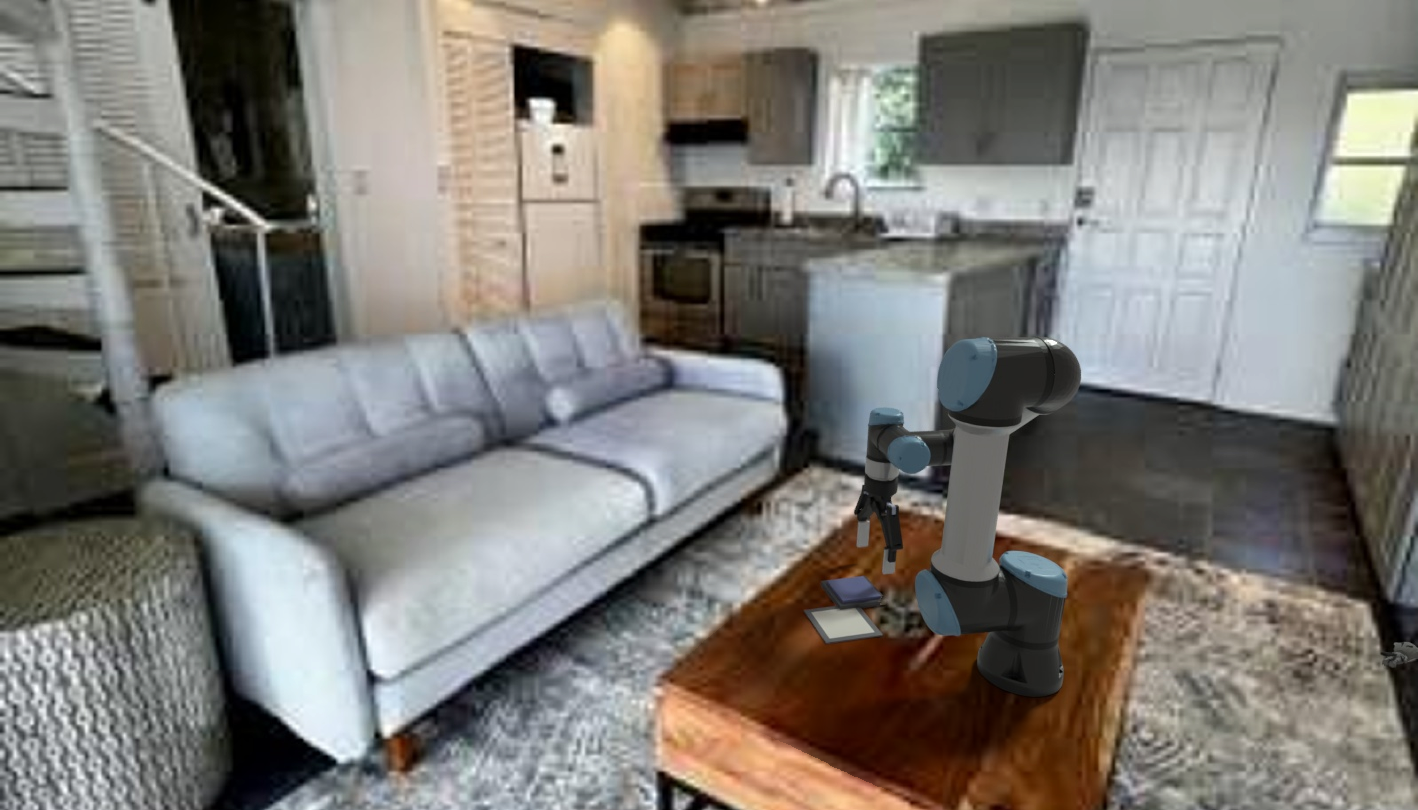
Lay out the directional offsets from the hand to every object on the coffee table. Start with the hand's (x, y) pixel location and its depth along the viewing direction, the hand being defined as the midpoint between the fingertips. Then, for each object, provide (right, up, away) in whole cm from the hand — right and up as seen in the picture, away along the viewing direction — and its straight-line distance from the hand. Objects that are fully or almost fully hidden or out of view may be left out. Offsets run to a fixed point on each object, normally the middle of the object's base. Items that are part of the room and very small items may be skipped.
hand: (874, 559), depth 178 cm
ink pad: (-7, -6, -9) cm, 13 cm away
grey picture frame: (-11, -9, -20) cm, 24 cm away
